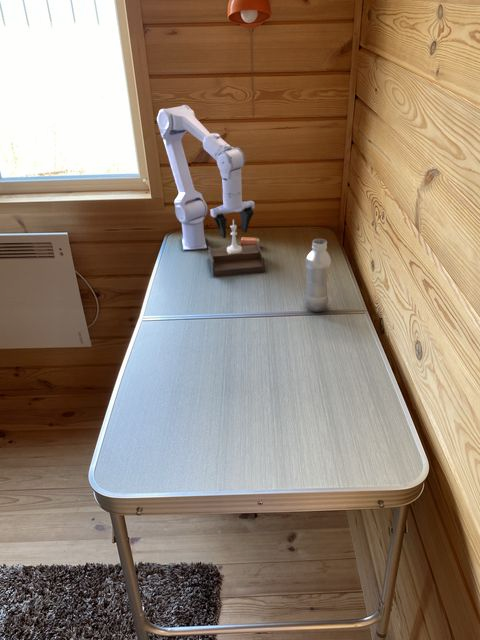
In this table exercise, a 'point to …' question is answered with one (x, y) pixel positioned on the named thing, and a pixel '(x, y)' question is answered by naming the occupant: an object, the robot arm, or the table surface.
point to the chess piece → (234, 241)
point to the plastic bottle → (317, 276)
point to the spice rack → (236, 261)
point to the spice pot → (249, 241)
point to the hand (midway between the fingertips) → (233, 234)
